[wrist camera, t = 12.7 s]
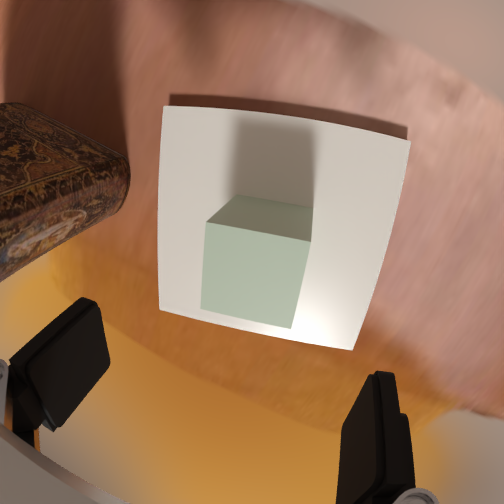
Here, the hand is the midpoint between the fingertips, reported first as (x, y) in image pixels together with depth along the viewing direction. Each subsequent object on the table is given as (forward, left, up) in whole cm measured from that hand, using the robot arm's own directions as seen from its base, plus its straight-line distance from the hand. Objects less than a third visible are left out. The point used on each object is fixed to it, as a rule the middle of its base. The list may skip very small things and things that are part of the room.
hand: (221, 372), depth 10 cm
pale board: (+1, 0, -14) cm, 14 cm away
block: (0, 0, -13) cm, 13 cm away
